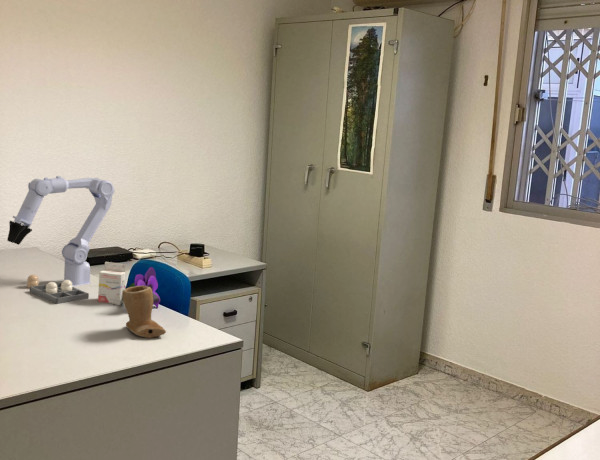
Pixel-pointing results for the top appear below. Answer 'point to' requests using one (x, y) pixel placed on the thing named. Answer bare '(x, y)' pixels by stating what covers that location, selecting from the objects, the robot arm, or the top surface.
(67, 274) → the robot arm
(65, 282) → the cream egg
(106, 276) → the ink cartridge box
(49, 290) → the cream egg
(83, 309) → the top surface
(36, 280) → the brown egg
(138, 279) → the flower
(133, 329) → the brown felt boot
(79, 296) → the carton
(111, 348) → the top surface
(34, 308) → the top surface
